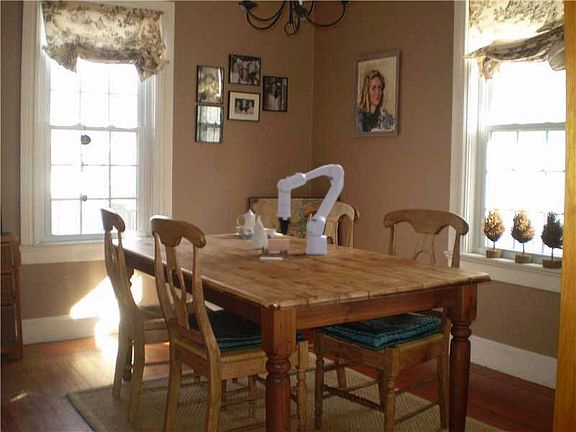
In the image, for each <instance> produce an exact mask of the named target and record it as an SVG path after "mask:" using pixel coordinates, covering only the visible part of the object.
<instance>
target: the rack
mask: <svg viewBox="0 0 576 432" xmlns="http://www.w3.org/2000/svg"><path fill="white" fill-rule="evenodd" d="M288 252H289V251H288V250H285V251H279V252H270V251H268V248H265V249H264V247H262V249H261V257H281V258H289V255H288Z"/></svg>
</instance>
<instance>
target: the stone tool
mask: <svg viewBox="0 0 576 432" xmlns="http://www.w3.org/2000/svg"><path fill="white" fill-rule="evenodd" d="M264 228H265V227H264V224H263V223H262V221H261V219H260V220H259V219H258V220H255V226H254V231H253V235H252V239H251V242H250V243H251V245H250V246H251V249H253V250H262V247H264V250H265V249H268V238H267V233H266V230H265V229H264Z"/></svg>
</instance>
